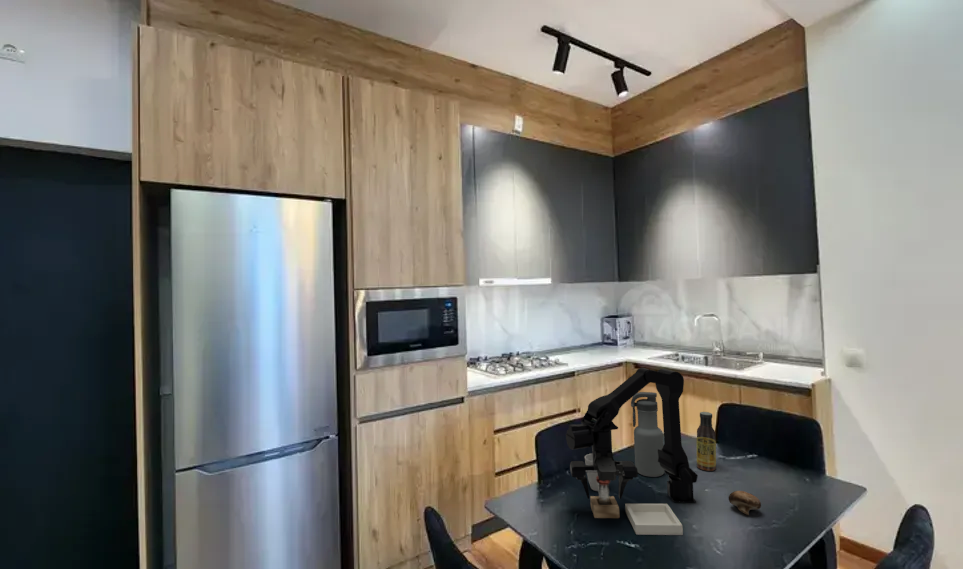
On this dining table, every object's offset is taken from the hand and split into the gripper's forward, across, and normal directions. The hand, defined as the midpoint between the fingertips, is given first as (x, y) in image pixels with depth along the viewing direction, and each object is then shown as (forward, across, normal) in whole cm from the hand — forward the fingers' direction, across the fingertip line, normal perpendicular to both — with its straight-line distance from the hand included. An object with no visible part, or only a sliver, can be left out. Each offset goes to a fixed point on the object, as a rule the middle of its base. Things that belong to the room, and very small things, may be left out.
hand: (604, 498), depth 130 cm
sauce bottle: (+4, +42, +32) cm, 53 cm away
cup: (+4, +1, +16) cm, 17 cm away
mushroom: (+4, +40, +1) cm, 40 cm away
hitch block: (+4, 0, 0) cm, 4 cm away
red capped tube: (+4, 0, 0) cm, 4 cm away
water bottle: (+4, +21, +29) cm, 36 cm away
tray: (+4, +12, -6) cm, 14 cm away
